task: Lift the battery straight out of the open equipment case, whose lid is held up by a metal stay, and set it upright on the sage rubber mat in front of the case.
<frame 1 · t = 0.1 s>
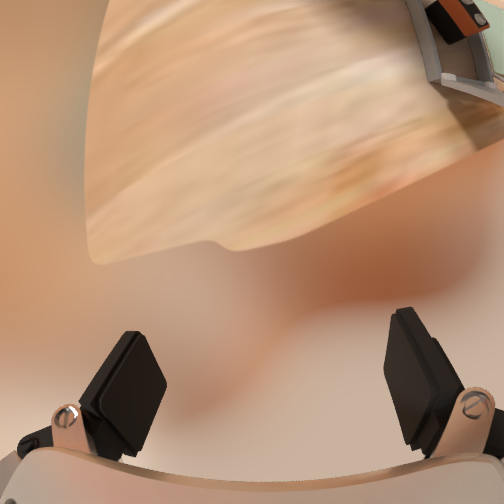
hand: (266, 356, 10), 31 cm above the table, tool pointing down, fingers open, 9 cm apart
battery: (441, 25, 25), resting in equipment case
rubber mat: (500, 38, 22), on the table
equipment case: (442, 24, 25), on the table
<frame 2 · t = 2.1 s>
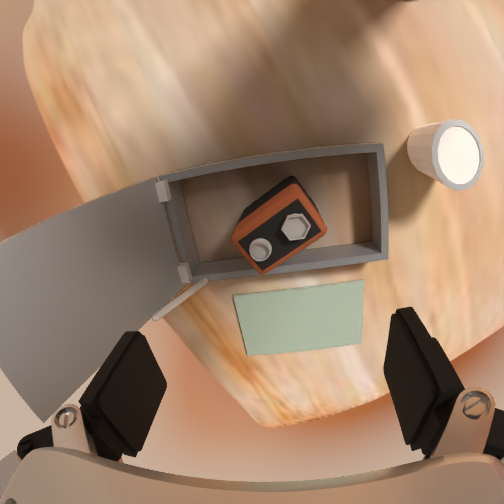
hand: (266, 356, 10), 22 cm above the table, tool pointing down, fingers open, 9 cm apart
shot glass: (426, 149, 26), on the table
case lid: (92, 282, 20), point 14 cm above the table, hinge at 106.0°, touching equipment case
battery: (279, 207, 31), resting in equipment case
rubber mat: (302, 320, 36), on the table
equipment case: (279, 207, 30), on the table
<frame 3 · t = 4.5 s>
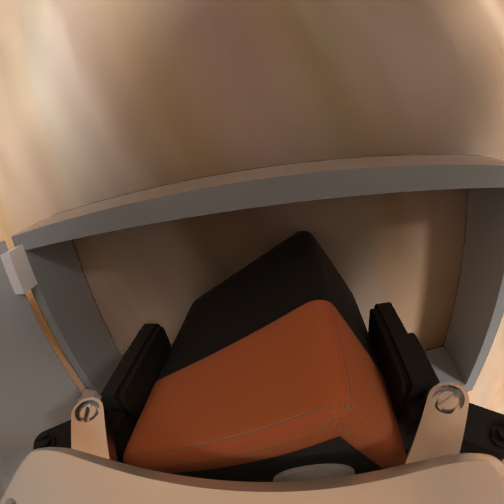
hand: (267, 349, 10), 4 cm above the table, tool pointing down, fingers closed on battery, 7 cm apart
battery: (271, 297, 14), resting in equipment case, touching gripper
equipment case: (271, 298, 13), on the table
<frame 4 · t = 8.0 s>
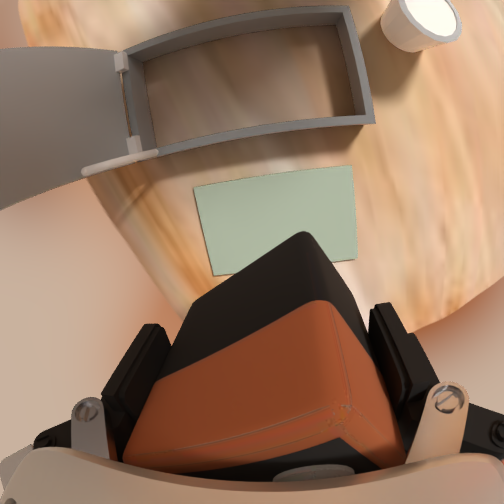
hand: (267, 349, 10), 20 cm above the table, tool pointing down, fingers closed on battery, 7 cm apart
shot glass: (403, 30, 20), on the table
case lid: (24, 117, 13), point 14 cm above the table, hinge at 106.0°, touching equipment case
battery: (270, 297, 14), point 17 cm above the table, touching gripper
rubber mat: (279, 222, 29), on the table
equipment case: (244, 79, 24), on the table
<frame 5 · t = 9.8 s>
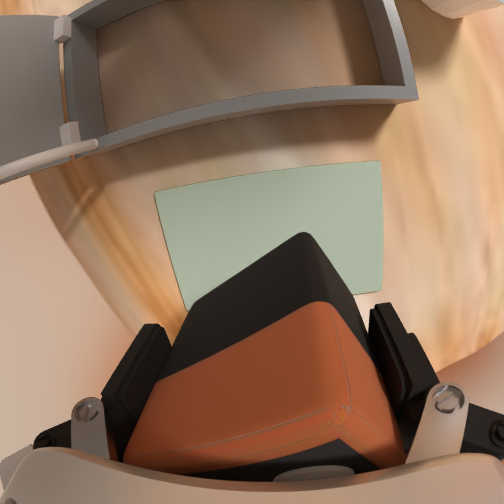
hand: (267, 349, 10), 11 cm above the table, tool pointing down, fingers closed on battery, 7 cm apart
battery: (271, 298, 14), point 8 cm above the table, touching gripper
rubber mat: (274, 241, 21), on the table
equipment case: (225, 39, 15), on the table
when the fingers open (5 cm above the table, at t = 11.6 s): battery stays where it is, resting on rubber mat.
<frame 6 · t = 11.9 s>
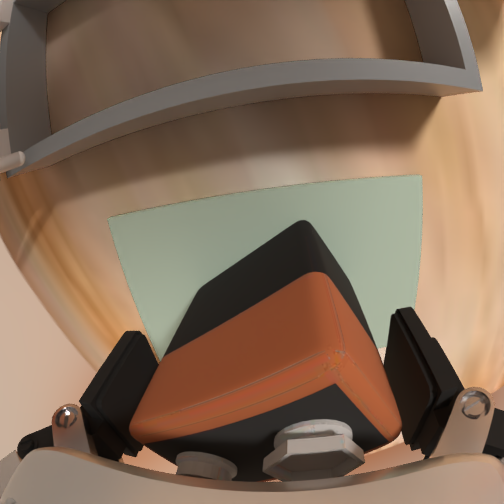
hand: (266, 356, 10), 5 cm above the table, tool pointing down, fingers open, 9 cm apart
battery: (272, 284, 14), resting on rubber mat
rubber mat: (271, 286, 15), on the table
equipment case: (202, 3, 9), on the table
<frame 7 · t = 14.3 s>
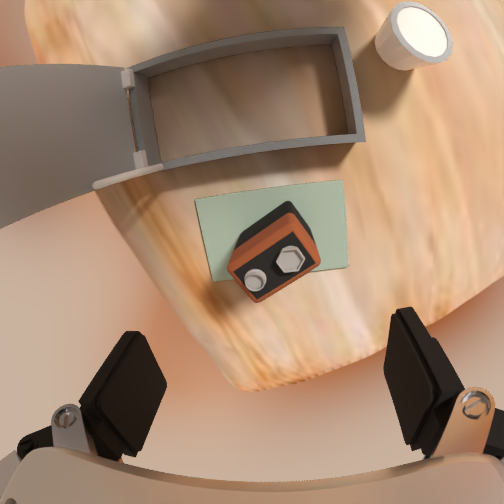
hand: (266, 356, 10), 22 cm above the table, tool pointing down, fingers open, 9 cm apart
shot glass: (396, 49, 22), on the table
case lid: (38, 132, 15), point 14 cm above the table, hinge at 106.0°, touching equipment case
battery: (275, 231, 31), resting on rubber mat
rubber mat: (274, 232, 32), on the table
equipment case: (243, 97, 26), on the table
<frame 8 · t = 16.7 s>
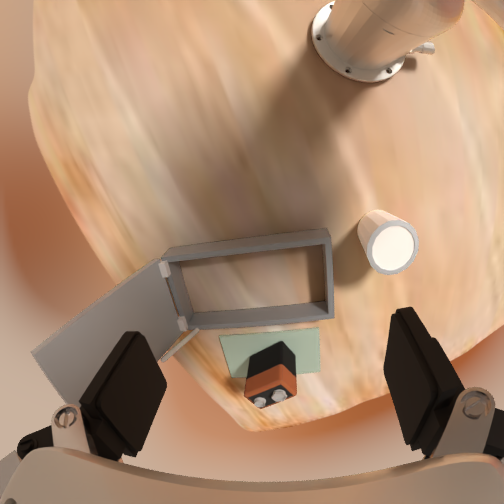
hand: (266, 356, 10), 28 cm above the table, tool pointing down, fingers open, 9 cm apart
shot glass: (375, 229, 36), on the table
case lid: (121, 342, 30), point 14 cm above the table, hinge at 106.0°, touching equipment case
battery: (272, 354, 46), resting on rubber mat
rubber mat: (272, 354, 46), on the table
equipment case: (251, 277, 41), on the table
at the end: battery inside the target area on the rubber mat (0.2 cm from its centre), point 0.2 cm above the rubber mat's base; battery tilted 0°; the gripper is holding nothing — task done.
